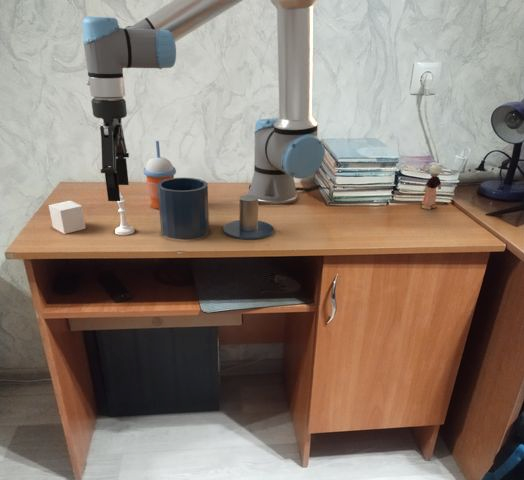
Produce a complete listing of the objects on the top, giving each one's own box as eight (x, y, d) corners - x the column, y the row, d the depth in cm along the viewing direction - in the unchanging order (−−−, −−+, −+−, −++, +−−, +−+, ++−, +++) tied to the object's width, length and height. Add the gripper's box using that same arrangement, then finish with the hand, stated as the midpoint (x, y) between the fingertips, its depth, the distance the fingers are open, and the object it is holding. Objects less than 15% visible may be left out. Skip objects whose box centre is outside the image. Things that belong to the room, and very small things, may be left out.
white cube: (74, 222, 139) (70, 200, 136) (85, 228, 136) (82, 205, 132) (52, 227, 135) (48, 205, 132) (64, 234, 132) (60, 210, 129)
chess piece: (127, 236, 132) (123, 197, 126) (111, 233, 133) (105, 194, 128) (138, 230, 136) (134, 191, 130) (121, 227, 137) (117, 189, 131)
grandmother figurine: (427, 203, 161) (436, 161, 154) (439, 206, 159) (448, 163, 152) (415, 209, 156) (424, 165, 149) (427, 212, 154) (436, 168, 147)
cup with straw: (171, 212, 148) (167, 145, 138) (141, 209, 149) (135, 143, 140) (182, 202, 155) (178, 139, 146) (153, 200, 157) (147, 136, 147)
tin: (209, 224, 141) (207, 177, 134) (208, 241, 130) (207, 191, 123) (163, 224, 140) (160, 177, 133) (159, 241, 129) (155, 191, 123)
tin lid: (271, 224, 142) (272, 190, 137) (275, 242, 131) (277, 206, 126) (223, 223, 141) (222, 189, 136) (223, 242, 130) (222, 205, 125)
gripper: (101, 90, 127) (112, 178, 139) (78, 105, 106) (93, 208, 118) (132, 91, 128) (140, 178, 139) (116, 106, 107) (126, 208, 119)
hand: (119, 192), depth 129 cm, fingers open, 13 cm apart
